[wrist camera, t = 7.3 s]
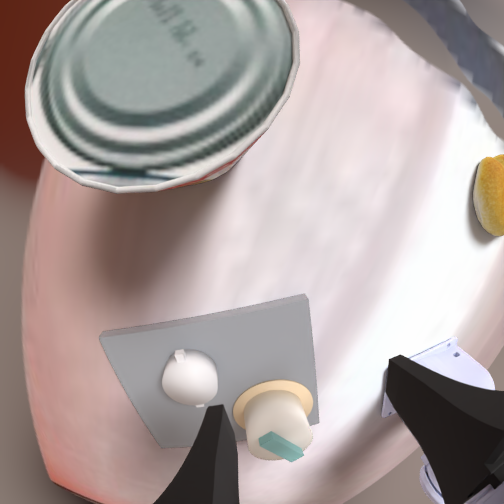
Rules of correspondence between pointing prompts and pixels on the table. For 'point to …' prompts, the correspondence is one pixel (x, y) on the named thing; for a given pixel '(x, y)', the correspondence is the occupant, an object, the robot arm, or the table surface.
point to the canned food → (158, 88)
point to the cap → (276, 426)
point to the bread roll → (490, 194)
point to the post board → (230, 347)
